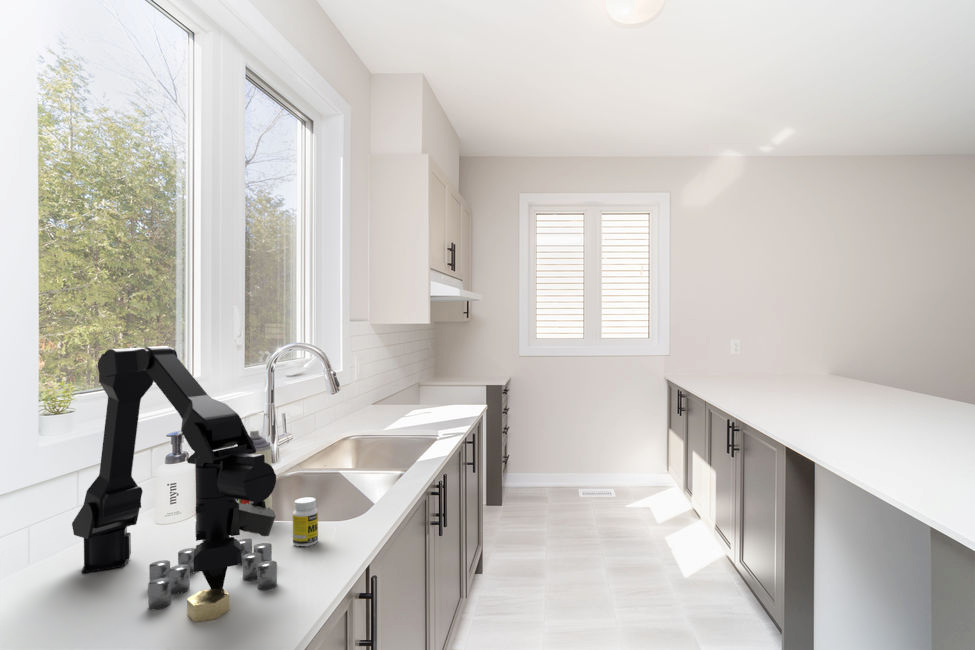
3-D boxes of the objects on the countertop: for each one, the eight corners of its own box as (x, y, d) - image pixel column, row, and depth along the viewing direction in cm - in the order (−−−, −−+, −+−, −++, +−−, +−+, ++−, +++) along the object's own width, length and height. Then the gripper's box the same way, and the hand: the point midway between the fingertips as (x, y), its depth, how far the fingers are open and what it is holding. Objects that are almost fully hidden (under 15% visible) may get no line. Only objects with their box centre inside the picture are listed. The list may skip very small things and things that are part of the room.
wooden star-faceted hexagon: (197, 625, 83) (197, 608, 83) (184, 611, 87) (184, 595, 87) (233, 613, 87) (232, 596, 87) (218, 600, 91) (218, 585, 91)
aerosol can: (232, 523, 127) (231, 431, 127) (260, 514, 132) (259, 426, 133) (250, 529, 123) (248, 434, 123) (278, 520, 128) (277, 429, 128)
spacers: (143, 613, 87) (143, 590, 87) (152, 573, 101) (152, 553, 101) (278, 587, 95) (277, 565, 95) (269, 553, 110) (268, 534, 110)
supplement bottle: (310, 548, 112) (310, 504, 112) (288, 546, 113) (287, 503, 113) (322, 539, 117) (321, 497, 117) (300, 537, 118) (300, 496, 118)
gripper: (277, 501, 86) (279, 607, 86) (266, 473, 103) (267, 562, 103) (192, 513, 81) (194, 625, 81) (195, 481, 98) (196, 575, 98)
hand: (217, 593), depth 91 cm, fingers closed
